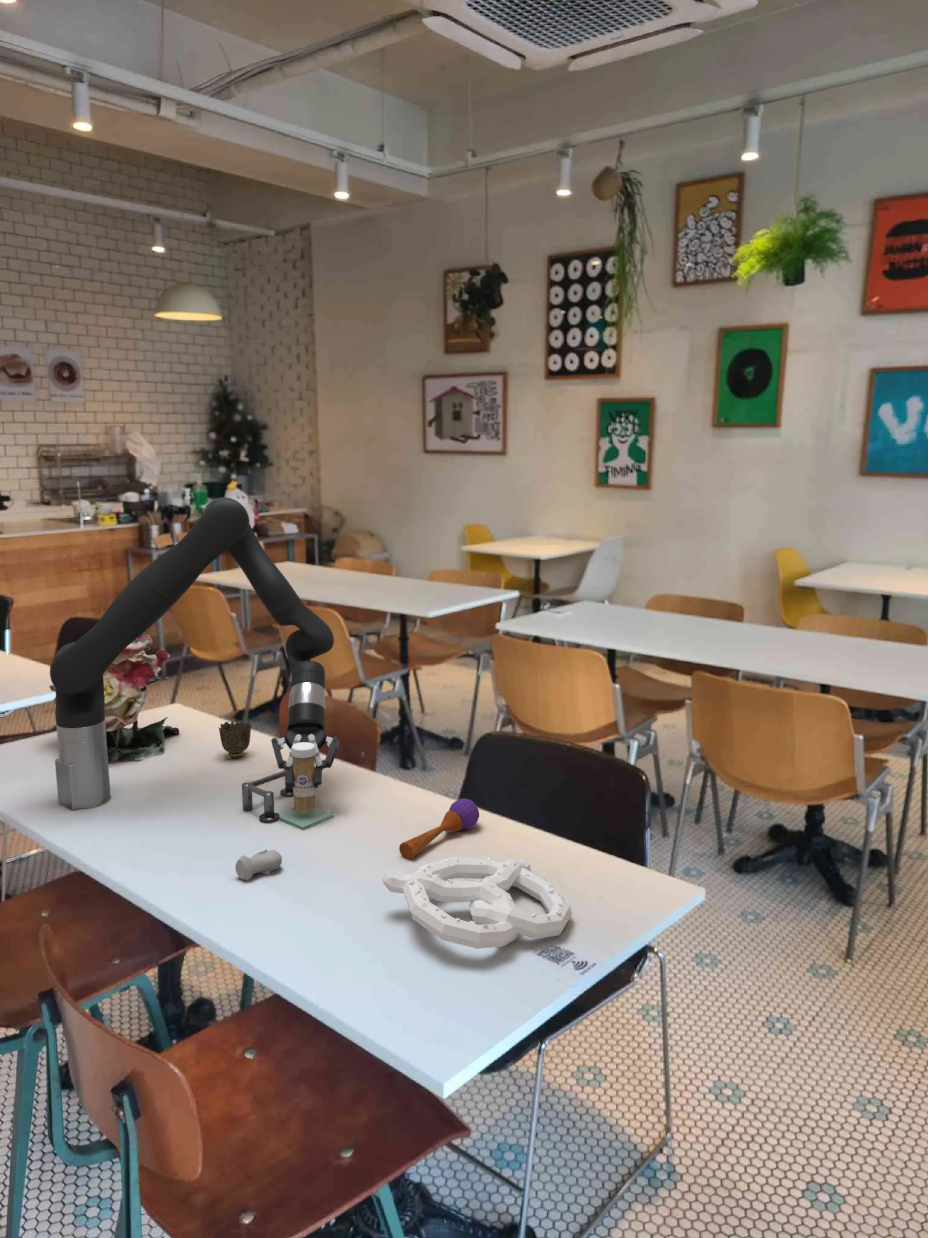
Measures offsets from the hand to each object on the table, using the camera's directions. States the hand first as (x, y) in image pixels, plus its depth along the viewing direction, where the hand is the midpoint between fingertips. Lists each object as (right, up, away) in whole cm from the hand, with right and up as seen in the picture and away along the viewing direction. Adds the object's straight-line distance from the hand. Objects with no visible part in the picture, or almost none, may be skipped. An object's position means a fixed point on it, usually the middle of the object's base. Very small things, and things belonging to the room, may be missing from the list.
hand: (303, 786), depth 173 cm
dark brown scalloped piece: (-23, 0, +37) cm, 43 cm away
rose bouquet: (-53, +1, +41) cm, 67 cm away
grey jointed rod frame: (-6, -6, +8) cm, 12 cm away
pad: (0, -7, +3) cm, 8 cm away
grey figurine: (-4, -12, -19) cm, 23 cm away
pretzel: (+35, -15, -32) cm, 50 cm away
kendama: (+27, -9, -6) cm, 29 cm away
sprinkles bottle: (0, -5, +3) cm, 6 cm away
